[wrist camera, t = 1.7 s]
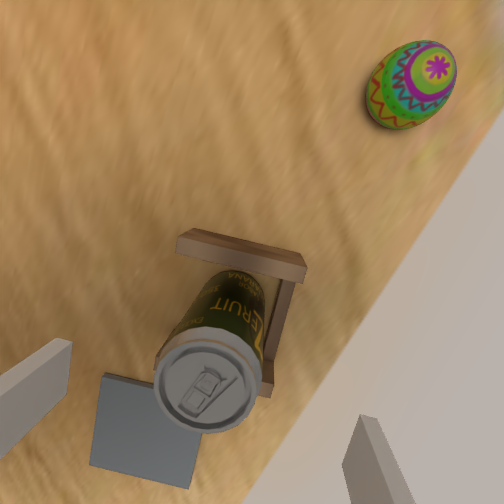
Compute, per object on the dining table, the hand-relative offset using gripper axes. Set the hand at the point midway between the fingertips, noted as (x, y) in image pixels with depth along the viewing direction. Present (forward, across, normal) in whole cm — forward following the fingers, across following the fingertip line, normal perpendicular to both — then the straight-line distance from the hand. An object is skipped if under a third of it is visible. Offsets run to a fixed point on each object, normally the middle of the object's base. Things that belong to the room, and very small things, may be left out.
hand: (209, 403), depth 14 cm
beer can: (+13, -1, 0) cm, 13 cm away
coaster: (+13, -6, -15) cm, 20 cm away
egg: (+13, +7, +18) cm, 24 cm away
